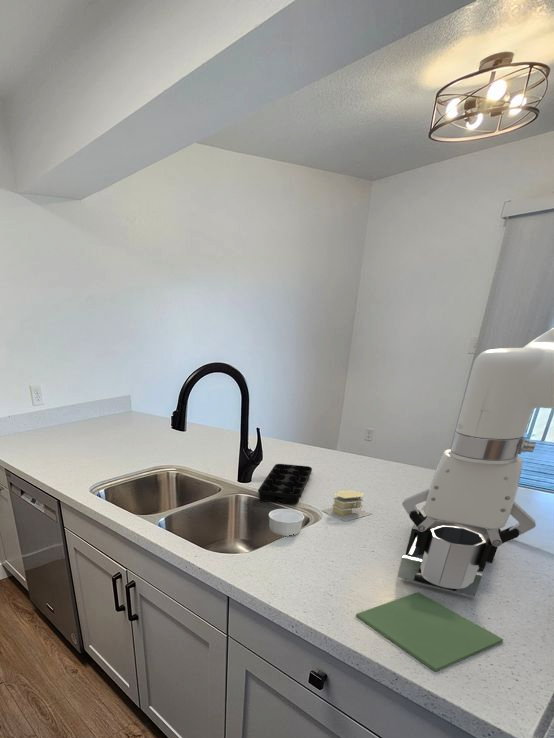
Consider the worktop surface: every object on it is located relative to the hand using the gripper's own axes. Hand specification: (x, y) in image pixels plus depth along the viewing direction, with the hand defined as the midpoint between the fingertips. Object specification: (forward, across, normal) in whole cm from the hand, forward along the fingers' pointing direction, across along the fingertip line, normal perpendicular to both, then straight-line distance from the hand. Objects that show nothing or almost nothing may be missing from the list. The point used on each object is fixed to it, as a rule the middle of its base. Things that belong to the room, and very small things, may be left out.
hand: (450, 557), depth 68 cm
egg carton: (+16, +48, -58) cm, 77 cm away
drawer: (+15, +1, -22) cm, 27 cm away
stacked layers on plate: (+16, +27, -48) cm, 57 cm away
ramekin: (+16, +37, -28) cm, 49 cm away
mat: (+16, +1, -3) cm, 16 cm away
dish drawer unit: (+16, +1, -38) cm, 41 cm away
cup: (+4, 0, 0) cm, 4 cm away
